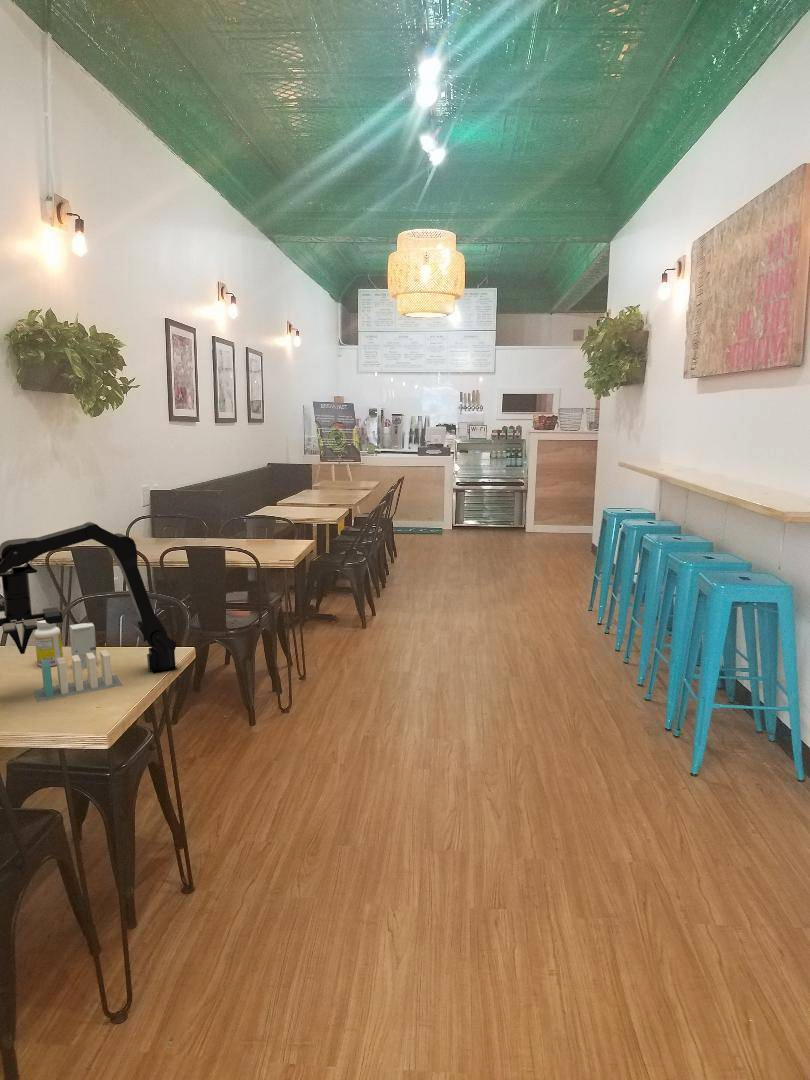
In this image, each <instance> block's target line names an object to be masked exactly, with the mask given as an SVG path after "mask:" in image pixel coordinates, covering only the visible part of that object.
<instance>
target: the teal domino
mask: <svg viewBox="0 0 810 1080" xmlns="http://www.w3.org/2000/svg"><path fill="white" fill-rule="evenodd" d="M40 667H41V674H42V676H41V677H42V685H43V688H44V692H45V695H46V697H50V696H53V686H54V685H53V678H52V666H51V665H50V663H49V661H48V660H43V661H41V666H40Z"/></svg>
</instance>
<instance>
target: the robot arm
mask: <svg viewBox="0 0 810 1080" xmlns="http://www.w3.org/2000/svg"><path fill="white" fill-rule="evenodd" d="M89 540H93V541H96V542H97V543H100V544H101V545H104V546H106V548H107V551H108V552H109V554H110V555H111V557H112V559H113V560H114V561H115V563H116V564H117V566H118V567H119V569H120V571H121V573H122V576H123V578H124V582H125V584H126V587H127V590H128V593H129V595H130V598H131V602H132V603H133V606H134V609H135V611H136V615H137V621H136V622H133V623H132V625H133V627H134V629H135V630H136V636H137V638H138V639H140V640H141V641H142V642H145V643H146V644H147V646H149V648H148V653H147V654H146V659H147V669H148V670H149V671H150V672H151V673H152V674H154V675H155V674H161V673H167V672H172V671H173V672H174V671H177V670H178V667H177V666H176V654H175V651H176V648H177V642H176V641H175V640H173V639H172V638H171V637H169V636H168V632H167V629H166V628H165V627H164V625H163V623H162V622H161V621H160V619H159V618H158V616H157V615H156V613H155V612H154V609H153V606H152V603H151V600H150V598H149V595H148V592H147V590H146V586H145V583H144V580H143V578H142V575H141V572H140V570H139V566H138V565H139V564H138V551H137V544H136V542H135V540H134V539H133V538H131V537H129V536H128V535H126V534H122V533H118V532H117V533H112V532H110V531H108V530H106V529H104V528H102V527H100V526H99V525H98V524H97V523H94V522H91V521H88V522H85V523H83V524H80V525H76V526H72V527H70V528H67V529H63V530H59V531H56V532H52V533H48V534H44V535H41V536H38V537H28V538H27V537H26V538H16V539H15V538H14V539H8V540H5V541H3V542H1V543H0V578H1V583H2V593H3V594H2V595H3V598H0V613H3V614H4V616H5V617H0V627H2V631H3V634H9V636H10V637H11V638H12V640H13V642H14V644H15V645H16V647H17V649H18V651H19V653H20V654H21V655H24V654H26V650H27V647H28V644H29V640H30V637H31V635H32V634H33V632H34V631H36V630H37V629H38V626H37V621H43V620H45V622H47V623H48V624H54V623H55V624H61V623H63V622H64V621H63V620H64V619H63V613H62V611H61V609H60V608H59V607H58V606H56V607H55V606H54V607H48V608H42V612H39V613H32V610H33V609H32V600H31V590H30V589H31V588H30V579H29V574H36V573H37V572H38V570H37V569H36V568H35V567H33V566H32V565H31V563H30V562H32V561H33V560H35V559H37V558H38V557H39V556H41V555H43V554H46V553H50V552H53V551H55V550H60V549H63V548H66V547H70V546H73V545H76V544H79V543H83V542H85V541H89ZM17 625H21V626H22V629H21V630H22V631H21V632H22V633H21V639H20V633H19V631H18V628H17Z"/></svg>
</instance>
